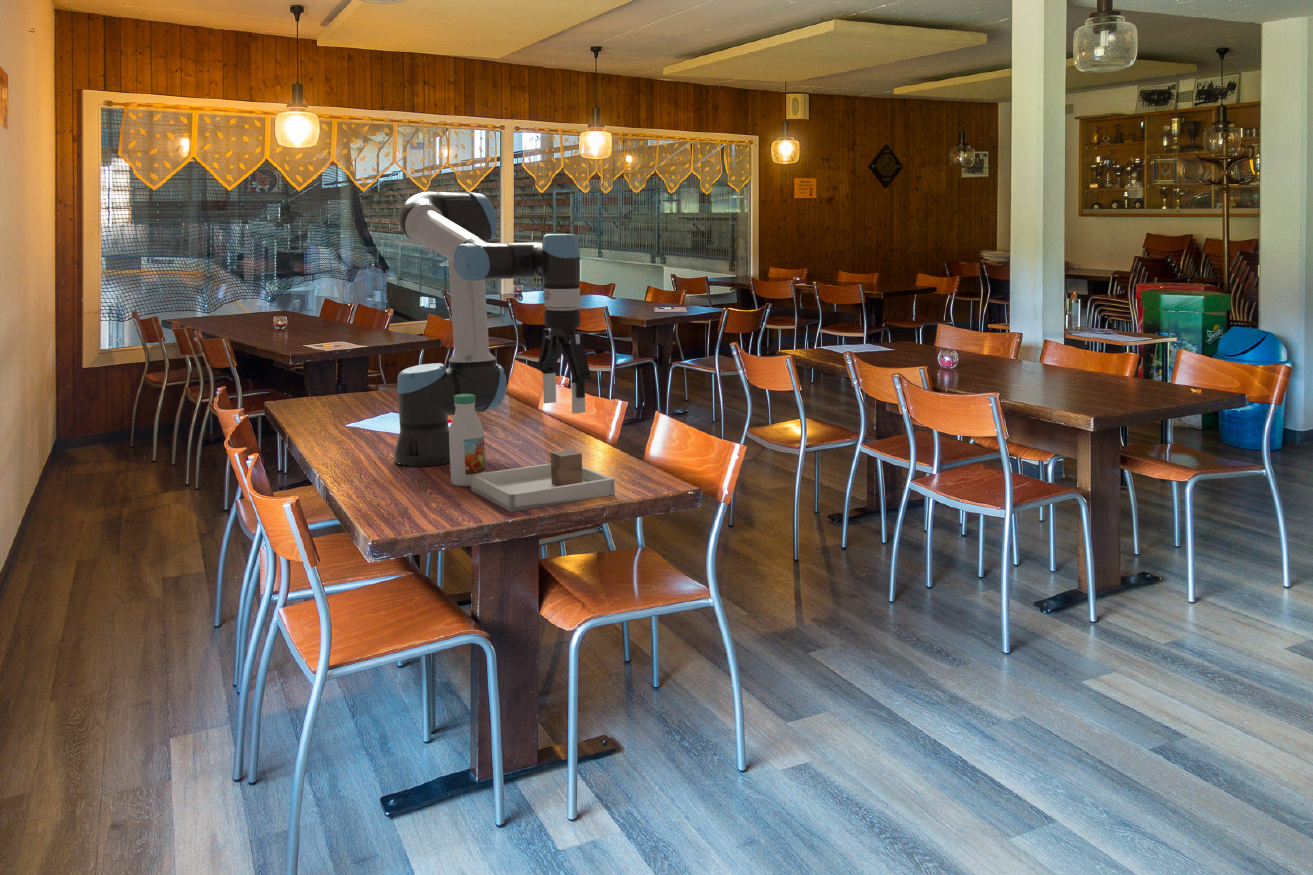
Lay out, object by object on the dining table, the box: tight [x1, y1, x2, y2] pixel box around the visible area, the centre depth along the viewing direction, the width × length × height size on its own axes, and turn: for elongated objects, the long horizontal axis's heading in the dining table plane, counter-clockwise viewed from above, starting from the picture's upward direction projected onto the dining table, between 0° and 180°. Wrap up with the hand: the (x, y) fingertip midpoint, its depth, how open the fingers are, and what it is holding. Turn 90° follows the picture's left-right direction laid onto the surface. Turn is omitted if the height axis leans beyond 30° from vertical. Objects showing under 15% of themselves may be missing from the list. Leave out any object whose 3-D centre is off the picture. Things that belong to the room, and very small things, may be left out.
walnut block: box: [550, 449, 583, 486], centre depth 218 cm, size 5×5×7 cm
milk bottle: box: [449, 394, 486, 487], centre depth 223 cm, size 8×8×20 cm
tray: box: [470, 462, 616, 513], centre depth 216 cm, size 21×24×4 cm
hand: (563, 407), depth 216 cm, fingers open, 13 cm apart
